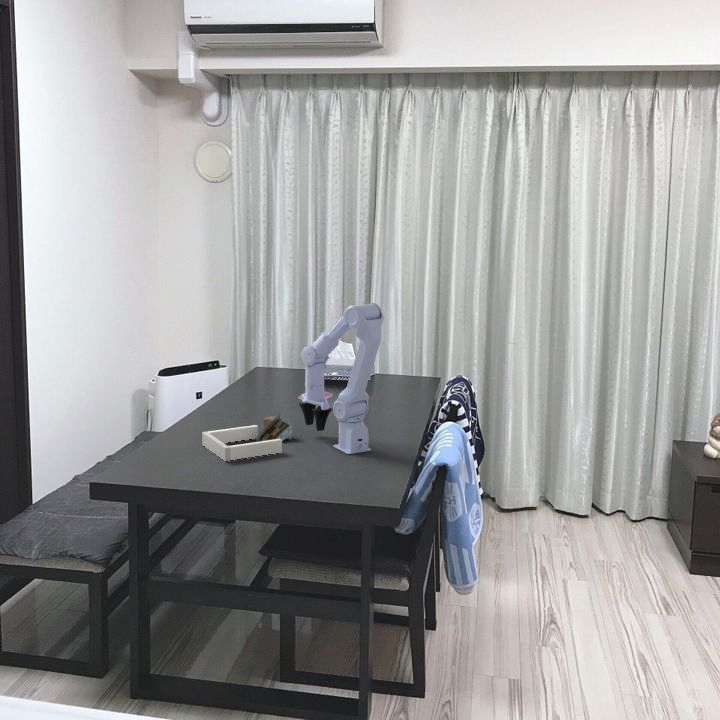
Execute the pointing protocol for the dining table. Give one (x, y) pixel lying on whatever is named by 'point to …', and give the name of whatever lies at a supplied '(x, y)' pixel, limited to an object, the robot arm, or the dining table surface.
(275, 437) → the chocolate cake
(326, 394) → the lily
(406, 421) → the dining table surface
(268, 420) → the walnut block
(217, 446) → the socket bay
